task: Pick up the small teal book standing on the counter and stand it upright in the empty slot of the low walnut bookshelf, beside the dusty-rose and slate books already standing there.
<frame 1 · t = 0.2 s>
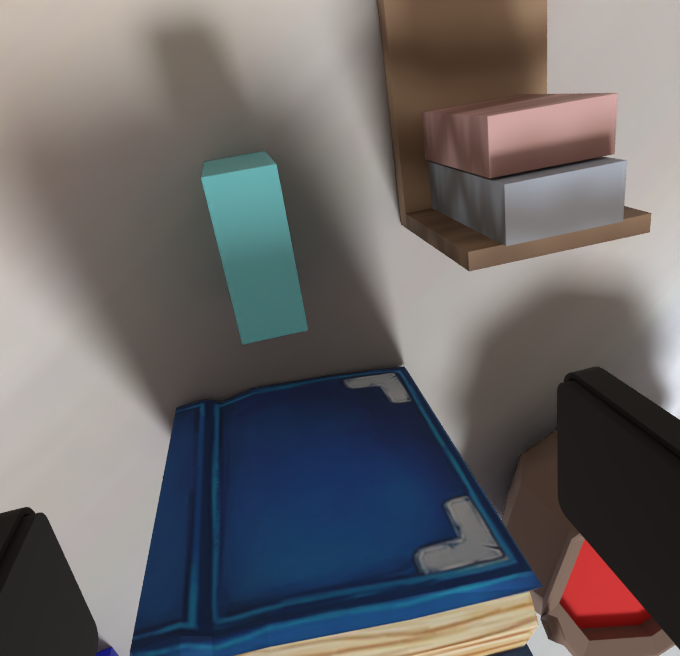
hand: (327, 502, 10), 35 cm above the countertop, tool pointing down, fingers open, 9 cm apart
shelf: (461, 51, 41), on the countertop
book: (290, 411, 50), on the countertop
brown bowl: (566, 476, 60), on the countertop
teal book: (250, 228, 43), on the countertop
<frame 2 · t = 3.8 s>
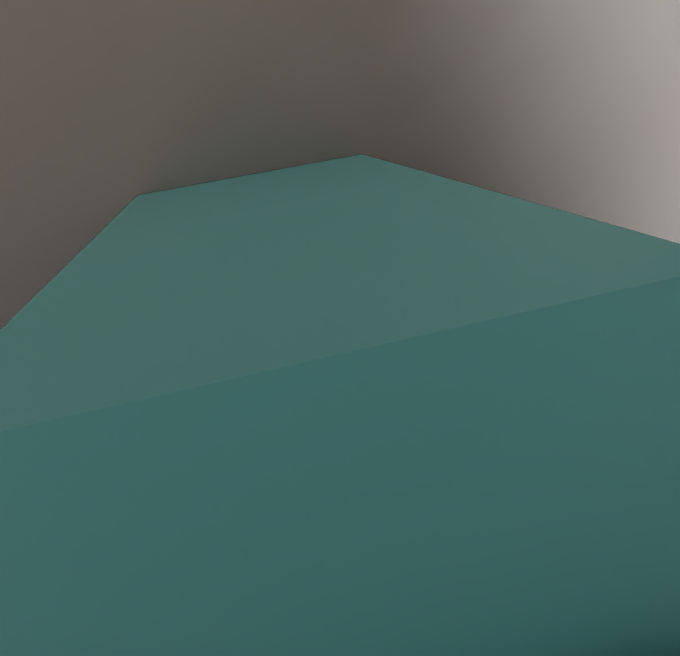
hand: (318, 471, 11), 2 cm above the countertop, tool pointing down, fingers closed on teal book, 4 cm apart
teal book: (302, 410, 13), on the countertop, touching gripper
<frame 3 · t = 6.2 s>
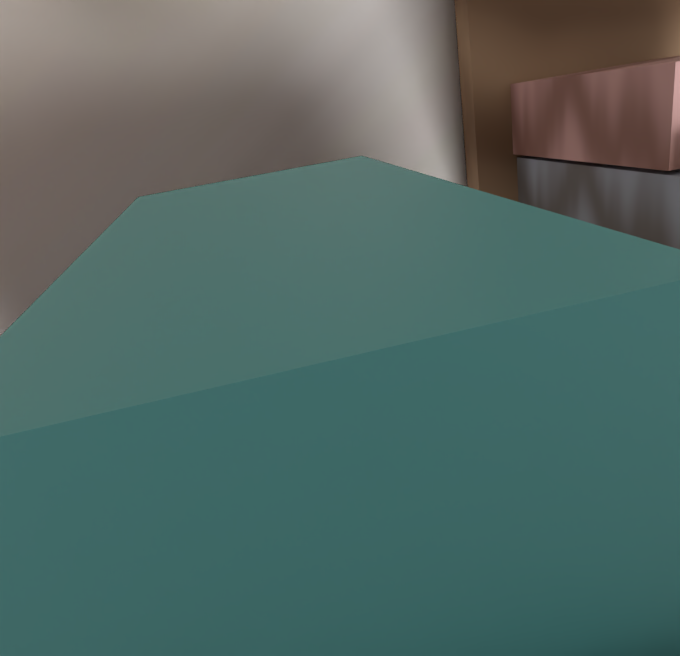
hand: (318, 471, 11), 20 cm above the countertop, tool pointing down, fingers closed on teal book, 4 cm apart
teal book: (302, 411, 13), point 18 cm above the countertop, touching gripper
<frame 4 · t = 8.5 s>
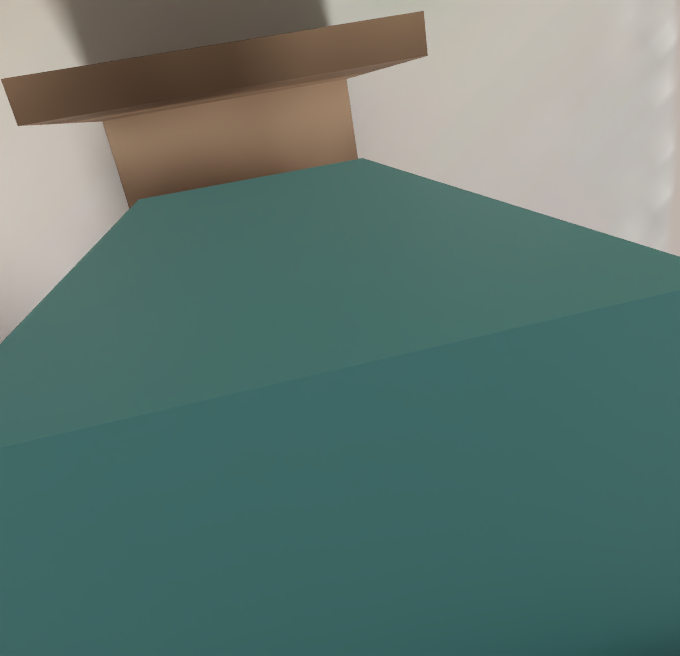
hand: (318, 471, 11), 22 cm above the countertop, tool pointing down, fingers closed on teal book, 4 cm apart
shelf: (271, 296, 33), on the countertop
teal book: (302, 413, 13), point 20 cm above the countertop, touching gripper
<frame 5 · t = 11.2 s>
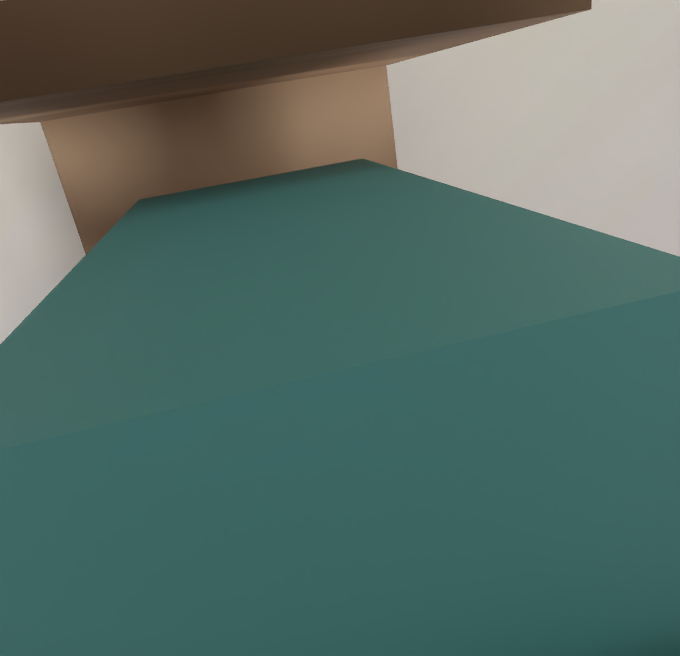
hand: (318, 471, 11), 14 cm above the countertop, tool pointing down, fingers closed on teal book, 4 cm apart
shelf: (277, 353, 25), on the countertop
teal book: (303, 413, 13), point 11 cm above the countertop, touching gripper
when the fingers open (5 cm above the countertop, at t = 13.6 s): teal book stays where it is, resting on shelf.
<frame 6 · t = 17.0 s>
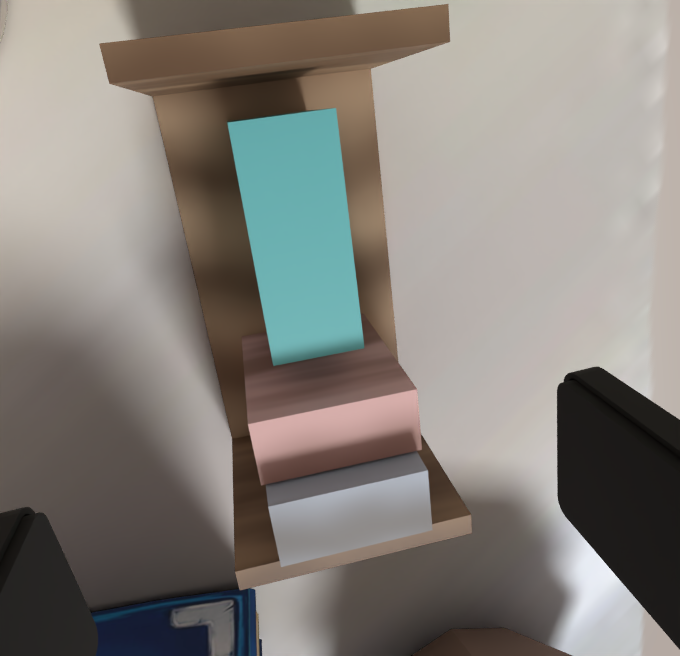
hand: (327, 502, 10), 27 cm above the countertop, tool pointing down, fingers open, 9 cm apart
shelf: (292, 265, 36), on the countertop
book: (119, 633, 44), on the countertop
teal book: (283, 214, 33), point 1 cm above the countertop, touching shelf
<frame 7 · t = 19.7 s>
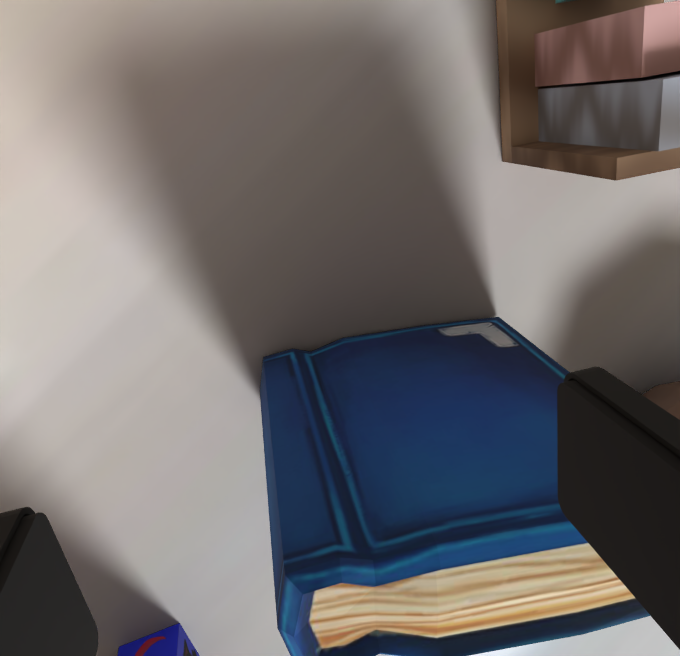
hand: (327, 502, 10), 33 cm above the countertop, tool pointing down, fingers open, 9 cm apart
book: (377, 366, 47), on the countertop
brown bowl: (654, 444, 57), on the countertop
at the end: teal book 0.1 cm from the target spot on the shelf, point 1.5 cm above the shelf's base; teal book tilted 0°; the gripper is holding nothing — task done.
